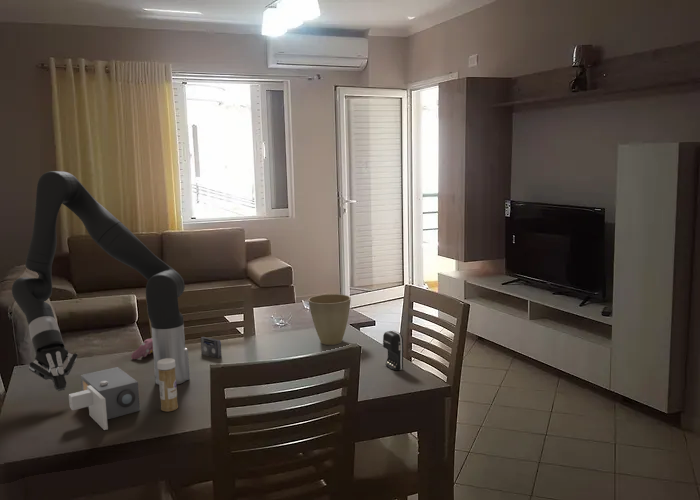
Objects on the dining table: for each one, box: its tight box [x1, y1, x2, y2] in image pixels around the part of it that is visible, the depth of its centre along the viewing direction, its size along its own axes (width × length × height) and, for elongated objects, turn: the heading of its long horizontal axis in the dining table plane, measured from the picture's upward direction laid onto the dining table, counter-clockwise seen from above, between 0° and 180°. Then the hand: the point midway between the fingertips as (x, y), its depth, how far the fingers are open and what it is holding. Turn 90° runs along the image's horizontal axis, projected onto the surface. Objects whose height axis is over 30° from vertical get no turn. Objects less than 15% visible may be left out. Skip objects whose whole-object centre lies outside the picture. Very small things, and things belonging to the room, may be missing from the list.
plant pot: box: [308, 293, 352, 346], centre depth 224 cm, size 15×15×16 cm
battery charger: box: [382, 330, 404, 371], centre depth 196 cm, size 7×4×11 cm, turn 27°
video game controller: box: [130, 337, 153, 360], centre depth 215 cm, size 10×5×7 cm, turn 170°
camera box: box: [80, 366, 141, 420], centre depth 170 cm, size 10×17×9 cm, turn 38°
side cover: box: [68, 385, 109, 431], centre depth 159 cm, size 6×12×8 cm, turn 38°
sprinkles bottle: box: [157, 358, 179, 412], centre depth 168 cm, size 5×5×13 cm
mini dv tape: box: [200, 336, 223, 359], centre depth 213 cm, size 8×2×6 cm, turn 54°
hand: (61, 389), depth 172 cm, fingers closed
